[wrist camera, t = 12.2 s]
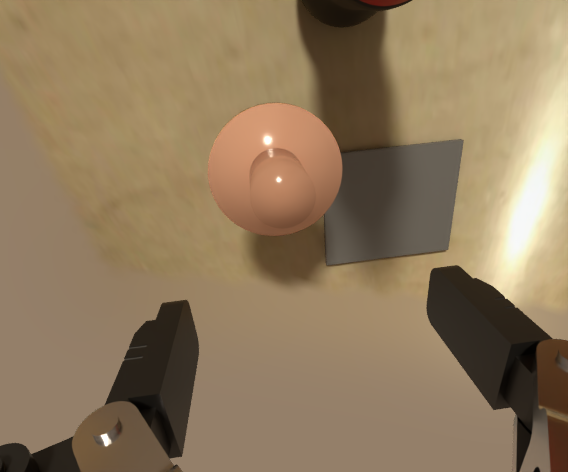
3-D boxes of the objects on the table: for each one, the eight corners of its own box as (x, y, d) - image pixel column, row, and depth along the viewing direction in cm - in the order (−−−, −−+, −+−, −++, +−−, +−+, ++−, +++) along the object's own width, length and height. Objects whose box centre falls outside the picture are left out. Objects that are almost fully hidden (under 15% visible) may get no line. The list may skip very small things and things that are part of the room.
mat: (460, 139, 39) (463, 140, 39) (445, 247, 45) (448, 249, 45) (321, 154, 38) (322, 155, 38) (325, 262, 44) (326, 265, 44)
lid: (337, 95, 24) (364, 101, 19) (341, 223, 29) (363, 258, 23) (196, 110, 24) (182, 122, 19) (221, 239, 28) (216, 278, 23)
